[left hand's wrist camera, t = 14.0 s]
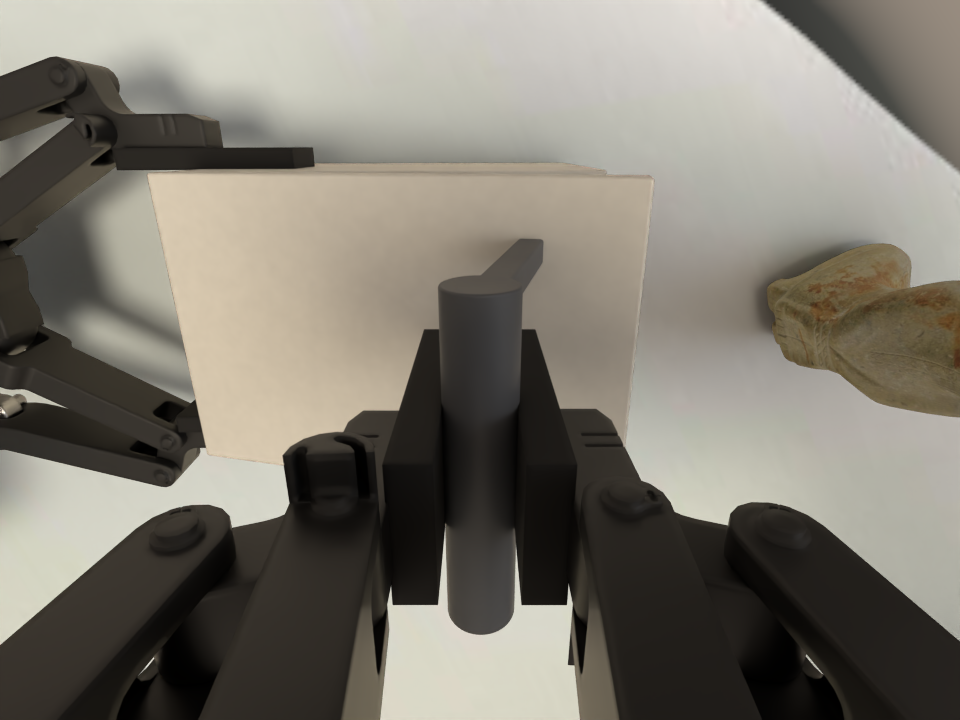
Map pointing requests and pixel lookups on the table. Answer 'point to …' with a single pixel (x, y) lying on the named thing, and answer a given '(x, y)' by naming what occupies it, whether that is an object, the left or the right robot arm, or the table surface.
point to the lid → (406, 319)
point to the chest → (435, 168)
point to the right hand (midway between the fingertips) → (320, 294)
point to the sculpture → (874, 328)
